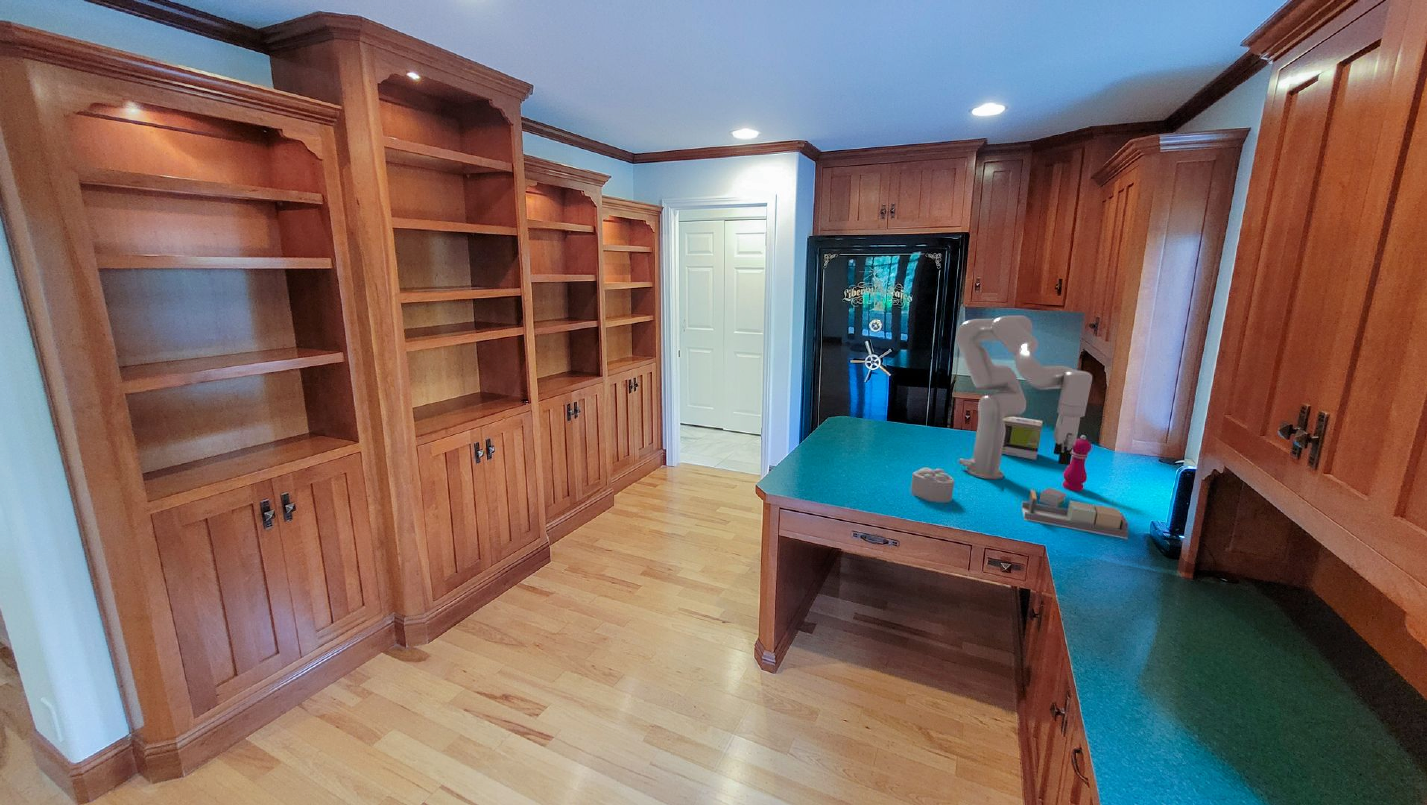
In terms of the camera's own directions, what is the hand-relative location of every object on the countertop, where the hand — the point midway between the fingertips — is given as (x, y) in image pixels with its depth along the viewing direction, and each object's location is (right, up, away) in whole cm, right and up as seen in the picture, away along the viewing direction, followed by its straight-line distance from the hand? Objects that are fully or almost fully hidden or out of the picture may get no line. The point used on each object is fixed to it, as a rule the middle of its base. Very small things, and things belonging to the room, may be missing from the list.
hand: (1061, 459), depth 183 cm
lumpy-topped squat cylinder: (-39, -14, +10) cm, 42 cm away
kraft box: (+6, -19, -12) cm, 24 cm away
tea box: (+14, -3, +52) cm, 54 cm away
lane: (-2, -19, -9) cm, 21 cm away
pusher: (-13, -17, -5) cm, 21 cm away
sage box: (0, -19, -10) cm, 21 cm away
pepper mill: (+16, -12, +19) cm, 27 cm away
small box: (-1, -16, +4) cm, 17 cm away
